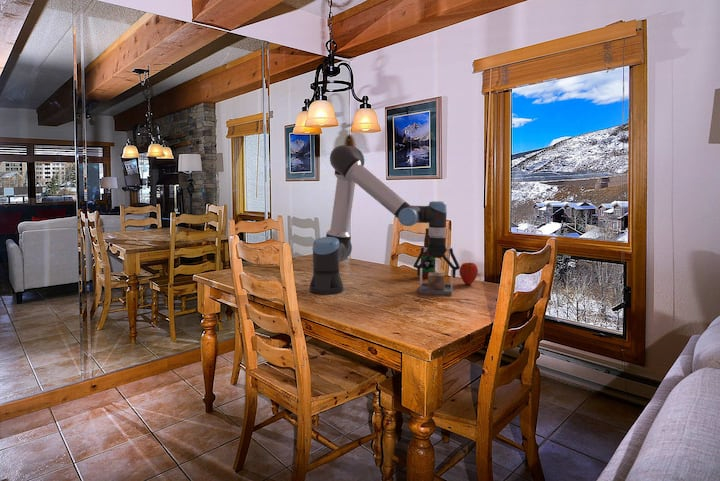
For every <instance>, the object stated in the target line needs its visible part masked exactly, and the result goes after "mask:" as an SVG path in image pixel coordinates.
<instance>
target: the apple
mask: <svg viewBox="0 0 720 481" xmlns="http://www.w3.org/2000/svg"><path fill="white" fill-rule="evenodd" d="M478 275H479V270H478V266H477V264H475V263H474V262H464V263H462V264H461V265H460V269H459V276H460V279H462V281H463V283H464V284H465V285H472V284H473V283H474V282H475V280H476V279H477V277H478Z"/></svg>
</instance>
